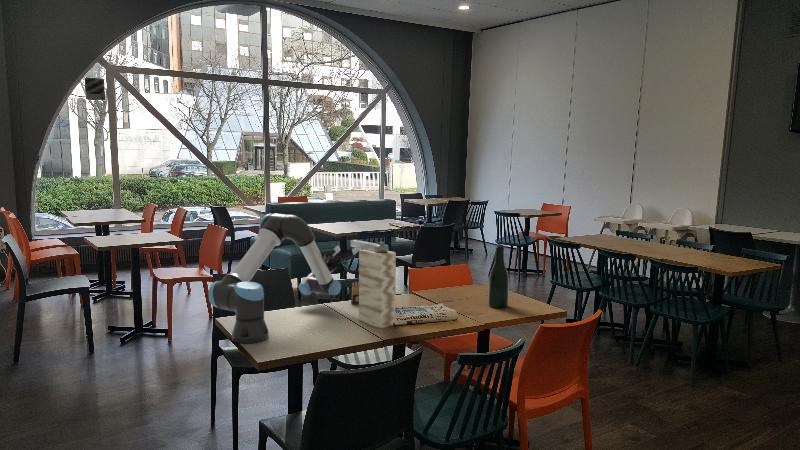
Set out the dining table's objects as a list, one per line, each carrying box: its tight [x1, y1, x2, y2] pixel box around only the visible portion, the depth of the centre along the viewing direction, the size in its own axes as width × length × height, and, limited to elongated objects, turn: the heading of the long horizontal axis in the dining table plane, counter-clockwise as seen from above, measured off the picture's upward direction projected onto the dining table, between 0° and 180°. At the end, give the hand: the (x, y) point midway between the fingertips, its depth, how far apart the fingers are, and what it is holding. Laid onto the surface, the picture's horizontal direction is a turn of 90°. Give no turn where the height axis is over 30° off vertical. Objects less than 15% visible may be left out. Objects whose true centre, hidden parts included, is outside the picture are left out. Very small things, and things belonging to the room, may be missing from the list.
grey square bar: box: [350, 239, 389, 253], centre depth 262 cm, size 6×25×5 cm, turn 41°
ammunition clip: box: [350, 281, 359, 305], centre depth 296 cm, size 11×2×12 cm, turn 121°
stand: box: [358, 249, 397, 329], centre depth 259 cm, size 9×16×34 cm, turn 41°
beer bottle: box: [487, 243, 510, 309], centre depth 290 cm, size 10×10×33 cm
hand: (349, 247), depth 274 cm, fingers open, 11 cm apart
